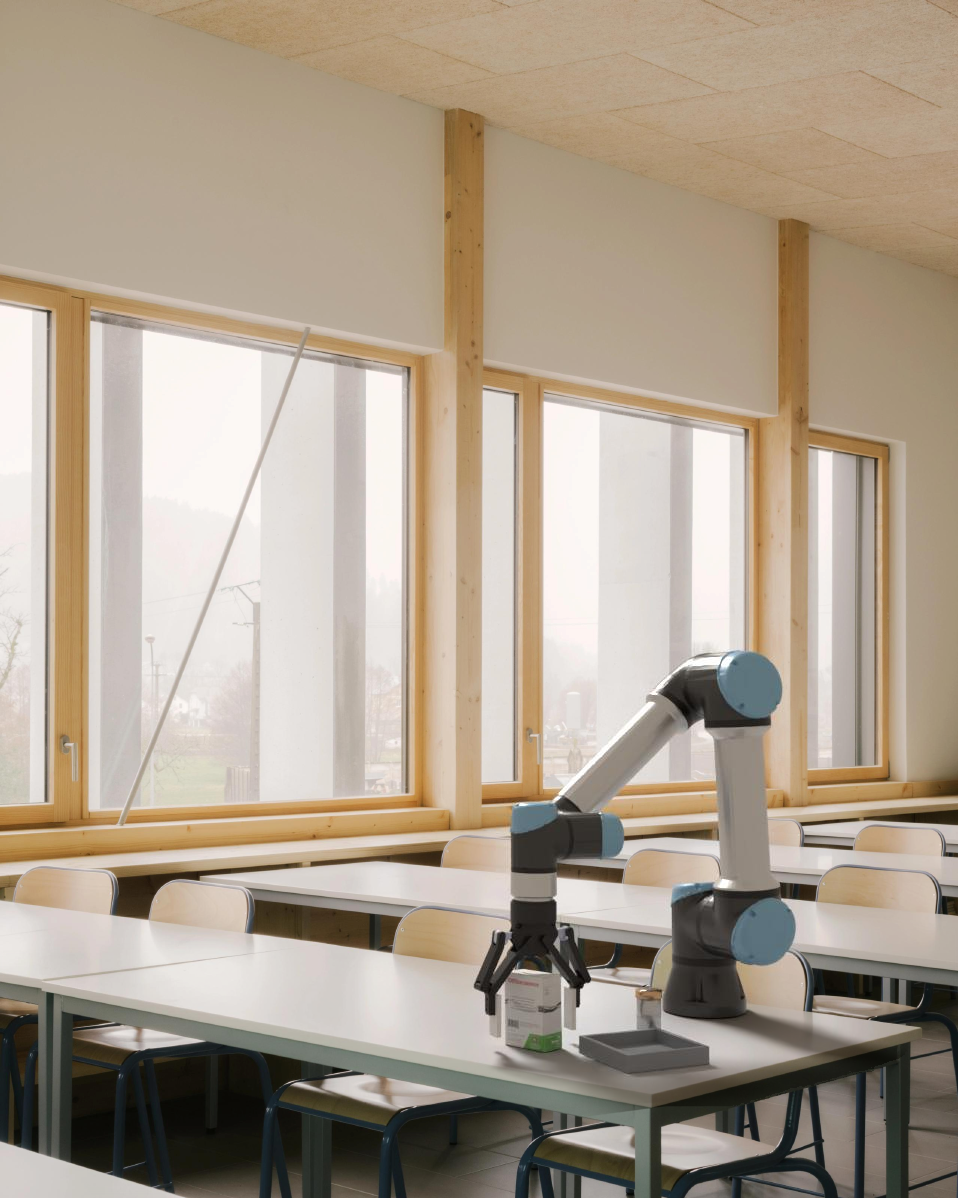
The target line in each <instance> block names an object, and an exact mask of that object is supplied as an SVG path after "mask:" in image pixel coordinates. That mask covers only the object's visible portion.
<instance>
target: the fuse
mask: <svg viewBox="0 0 958 1198" xmlns="http://www.w3.org/2000/svg"><path fill="white" fill-rule="evenodd" d="M634 990H635V993H634V994H635V996H634V997H635V998H636V1030H640V1029H650V1028H660V1029H662V999H663V989H662V988H658V987H651V986H650V987H649V986H646V987H644V986H643V987H637V988H635V989H634Z"/></svg>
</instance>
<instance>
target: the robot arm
mask: <svg viewBox="0 0 958 1198" xmlns="http://www.w3.org/2000/svg"><path fill="white" fill-rule="evenodd" d="M782 698H783V682H782V677H781V674H780V673H779V670H778V668H777V667H776V666H775V665H774V663H773V662H772V661H771V660H770V659H769V658H767V656H765V655H763V654H762V653H759V652H756V651H750V650H741V649H737V650H732V651H722V652H706V653H699V654H696V655H694V656H692V657H689V658H687V659H686V660H685V661H683V662H682V663H680V664H679V665H678V666H676V667H675V668H674V669H673V670H672V671H671V672H669V674H667V675H666V676H665V677H664V678H663V679H661V681H660V682H659V683H658V684H657V685H655V687H654V688H652V690H651V691H650V692H649V693H648V694H647V695H646V696H645V705H644V706H643V707H642V708H641V709H640V710H639V711H638V712H637V713H636V714H635V715H634V716H633V717H631V719H630V720H629V721H628V722H627V723H626V724H625V725H624V726H623V727H622V728H621V729H620V730H619V731H618V732H617V733H616V734H615V735H614V736H613V737H612V738H611V739H610V740H609V741H608V742H607V743H606V744H605V746H603V748H602V749H601V750H600V751H598V752H597V753H596V754H595V756H593V758H591V760H590V761H589V762H587V764H586V765H585V766H584V767H582V768H581V769H580V771H579V772H578V773H577V774H576V775H575V776H574V777H573V778H572V779H571V780H570V781H568V783H567V784H566V785H565V786H564V787H563V788H562V789H561V790H560V791H559V792H558V793H557V794H556V795H555V796H554V797H553V798H552V799H551V800H550V801H549V802H547V801H520V802H516V803H515V804H514V805H513V806H512V807H511V808H512V809H511V815H510V828H509V833H510V896H512V897H513V898H512V899H511V900H510V904H509V906H510V907H509V908H510V915H509V916H510V924H511V925H510V929H509V931H502V930H499V929H493V931H492V932H491V933H492V934H491V935H492V936H491V943H490V947H489V948H488V951H487V953H486V955H485V957H484V960H483V963H482V965H481V967H480V969H479V971H478V974H477V976H476V979H475V981H474V983H473V988H474V990H477V991H479V992H482V993H484V1013H485V1015H488V1016H489V1031H488V1032H489V1035H490V1036H492V1037H495V1038H497V1039H499V1038H502V995H501V994H499V993H498V992H499V991H500V989H501V987H502V986H503V985H504V984H505V981H506V979H507V978H508V976H509V975H510V973H511V972H512V971H513V970H515V968H516V967H517V965H518V964H519V962H521V961H522V960H523V959H524V958H526V959H531V958H532V959H533V958H534V957H539V958H544V957H547V958H548V960H549V961H551V963H552V965H553V966H554V967H555V969H556V970H557V971H558V973H559V975H561V977H562V978H563V979H564V980H565V982H566V983H567V984H568V985H567V986H563V1027H564V1028H565V1029H568V1030H570V1031H576V1030H577V1008H580V1005H581V990H582V989H583V988H584V986H585V984H590V983H591V982H592V977H591V975H590V973H589V970H588V968H587V965H586V963H585V961H584V959H583V956H582V953H581V952H580V950H579V947H578V945H577V942H576V940H575V931H574V928H573V927H571V926H567V925H561V926H560V927H558V928H557V926H556V925H557V924H556V923H557V919H558V918H557V917H558V916H557V913H558V912H557V911H558V908H557V907H558V906H557V905H558V903H557V902H558V901H556V899H554V898H555V897H557V895H558V894H557V893H558V884H557V883H558V882H557V881H558V879H557V876H558V875H557V874H558V871H557V870H558V866H557V865H558V861H565V860H603V859H612V858H616V857H617V856H619V854H621V852H622V850H623V848H624V845H625V830H624V826H623V825H624V824H623V823H622V821H621V819H620V818H619V817H618V816H617V815H616V814H614V813H609V812H607V813H606V812H601V811H602V810H603V809H604V808H605V807H606V806H607V805H608V804H609V803H610V802H611V801H612V800H613V799H614V798H615V797H616V796H617V795H618V794H619V793H620V792H621V791H622V790H623V789H624V788H625V786H626V785H627V784H628V783H629V782H630V781H631V780H632V779H633V778H634V777H635V776H636V775H638V773H639V772H640V771H642V769H643V768H644V767H645V766H646V765H647V764H648V763H649V762H650V761H651V760H652V759H653V758H654V757H655V756H656V755H657V754H658V753H659V752H660V751H661V750H662V749H663V748H664V747H665V746H666V745H667V744H668V742H669V741H671V740H672V738H674V736H675V735H677V734H679V735H680V734H682V735H683V734H686V732H687V731H688V730H689V729H690V728H691V727H692V726H693V725H695V724H696V723H698V722H700V721H702V720H703V722H704V723H703V724H704V725H703V726H704V730H705V732H707V733H708V734H709V735H710V736H711V737H712V739H713V749H714V765H715V766H714V767H715V785H716V788H715V790H716V807H717V824H718V826H717V827H718V843H719V844H718V845H719V863H720V864H719V865H720V876H719V877H718V878H717V880H715V881H710V882H690V883H689V882H688V883H687V882H686V883H678V884H676V885H675V886H674V887H673V888H672V891H671V900H670V907H671V968H670V972H669V975H668V979H667V982H666V984H665V987H664V992H663V993H662V1010H663V1011H665V1012H666V1013H669V1014H674V1015H678V1016H683V1017H689V1018H690V1017H692V1018H701V1019H703V1018H704V1019H705V1018H707V1019H708V1018H709V1019H712V1018H713V1019H719V1018H720V1019H721V1018H732V1017H739V1016H742V1015H745V1014H747V1011H748V1010H747V1006H748V1005H747V1003H748V1002H747V997H746V994H745V991H744V988H743V985H742V981H741V979H740V974H739V971H738V968H737V962H740V963H741V964H744V965H748V966H760V967H767V966H769V965H773V964H775V963H777V962H779V961H780V960H781V959H783V958H784V956H785V954H787V952H788V951H789V950H790V949H791V947H792V946H793V943H794V940H795V938H796V931H797V930H796V929H797V926H796V925H797V924H796V919H795V918H796V917H795V915H794V912H793V911H792V909H791V908H789V906H788V904H786V902H784V901H782V893H781V884H780V882H779V881H778V880H777V879H776V878H775V877H774V876H773V875H772V873H771V872H772V871H771V858H770V857H771V856H770V855H771V854H770V838H769V834H770V833H769V819H768V817H769V816H768V804H767V803H768V802H767V801H768V800H767V781H766V768H765V767H766V765H765V764H766V763H765V747H764V746H765V745H764V744H765V743H764V736H765V734H766V733H767V732H768V731H769V730H770V729H771V728H772V716H771V715H772V714H773V713H774V712H775V711H776V710H777V708H778V707H777V706H778V705H779V704H780V703H781V700H782ZM557 939H559V941H561V943H562V946H563V948H564V950H565V952H566V955H567V957H568V960H569V962H570V964H571V967H572V968H573V969H572V968H571V967H570V965H569V964H568V963H567V961H566V960H565V959H564V957H563V956H562V955H561V953H560V951H559V950H558V948H557V947H556V945H555V943H556V940H557ZM508 941H510V943H511V946H510V948H508V950H507V952H506V956H505V957H504V958H503V959H502V961H501V962H500V964H499V965H498V963H499V961H500V959H501V957H502V955H503V953H504V951H505V945H507V944H508ZM497 966H498V967H497ZM573 970H574V971H573Z"/></svg>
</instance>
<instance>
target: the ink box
mask: <svg viewBox="0 0 958 1198" xmlns="http://www.w3.org/2000/svg"><path fill="white" fill-rule="evenodd" d="M562 1015H563V1013H562V975H561V974H560V973H552V972H551V973H550V972H547V971H546V972H544V971H538V970H533V969H526V968H522V969H521V968H520V969H513V971H512V972H511V973H510V975H509V976H508V978H507V979H506V981H505V982H504V1033H505V1037H504V1043H505V1045H506V1046H511V1047H514V1048H515V1047H516V1048H521V1049H526V1050H532V1051H535V1052H536V1051H537V1052H540V1053H547V1052H551V1051H555V1050H559V1049H562V1048H563V1027H562V1025H563V1024H562V1023H563V1022H562V1018H563V1017H562Z"/></svg>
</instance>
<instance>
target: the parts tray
mask: <svg viewBox="0 0 958 1198" xmlns="http://www.w3.org/2000/svg"><path fill="white" fill-rule="evenodd" d="M578 1053H579V1054H582V1055H584V1056H586V1057H588V1058H591V1059H593V1060H596V1061H597V1062H600V1063H603V1064H605V1065H608V1066H609V1067H612V1068H613V1069H616V1070H619V1071H621V1072H624V1073H626V1074H634V1073H643V1072H651V1071H660V1070H661V1071H662V1070H668V1069H677V1068H685V1067H686V1068H687V1067H694V1066H703V1065H710V1046H709V1045H706V1044H704V1043H700V1042H699V1041H695V1040H692V1039H690V1038H686V1037H683V1036H682V1035H678V1034H676V1033H673V1032H670V1031H667V1030H665V1029H662V1028H661V1029H660V1028H650V1029H640V1030H637V1029H632V1030H624V1031H612V1032H611V1031H609V1032H601V1033H592V1034H584V1035H579V1036H578Z"/></svg>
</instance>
